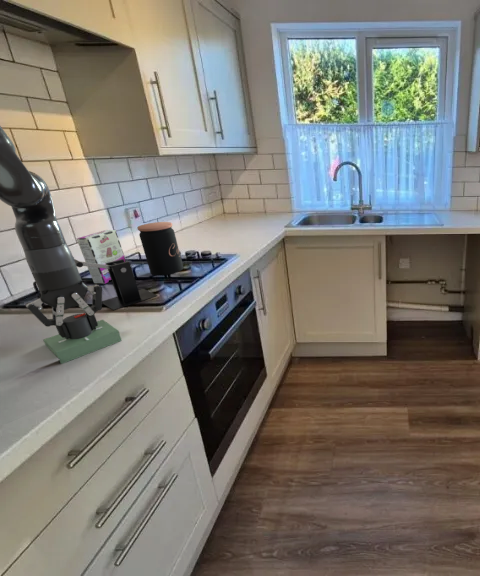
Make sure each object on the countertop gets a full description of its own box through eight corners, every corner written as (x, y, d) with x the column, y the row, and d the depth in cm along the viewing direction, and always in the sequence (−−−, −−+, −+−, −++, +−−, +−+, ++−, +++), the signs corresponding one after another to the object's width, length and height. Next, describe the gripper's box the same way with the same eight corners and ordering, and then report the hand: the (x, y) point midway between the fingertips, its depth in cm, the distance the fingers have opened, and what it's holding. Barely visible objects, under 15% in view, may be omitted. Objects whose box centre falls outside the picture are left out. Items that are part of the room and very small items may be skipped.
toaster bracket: (114, 313, 103) (99, 271, 98) (101, 305, 109) (86, 265, 104) (158, 298, 112) (147, 259, 107) (144, 291, 117) (132, 254, 112)
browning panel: (61, 364, 80) (55, 352, 79) (47, 350, 86) (42, 338, 84) (121, 340, 89) (117, 329, 88) (106, 329, 94) (102, 318, 93)
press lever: (75, 268, 96) (77, 260, 96) (69, 265, 98) (71, 256, 98) (127, 274, 106) (129, 266, 106) (120, 271, 109) (122, 263, 108)
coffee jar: (180, 276, 130) (167, 227, 123) (147, 279, 128) (132, 229, 121) (187, 266, 140) (175, 220, 133) (156, 269, 137) (143, 223, 130)
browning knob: (73, 341, 83) (65, 322, 81) (66, 335, 86) (59, 317, 84) (95, 333, 87) (88, 315, 85) (88, 328, 89) (82, 310, 87)
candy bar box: (119, 272, 135) (104, 229, 129) (130, 273, 135) (116, 229, 128) (92, 283, 125) (75, 237, 119) (104, 284, 124) (88, 238, 118)
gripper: (86, 254, 87) (108, 317, 93) (4, 271, 76) (37, 341, 83) (97, 259, 83) (120, 325, 89) (13, 278, 72) (46, 351, 79)
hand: (80, 332), depth 86 cm, fingers closed on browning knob, 4 cm apart
